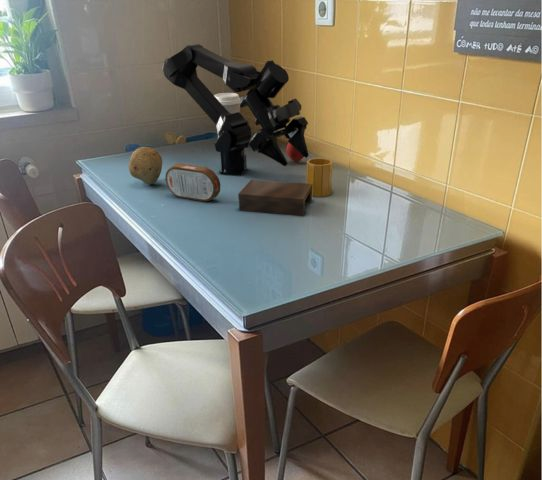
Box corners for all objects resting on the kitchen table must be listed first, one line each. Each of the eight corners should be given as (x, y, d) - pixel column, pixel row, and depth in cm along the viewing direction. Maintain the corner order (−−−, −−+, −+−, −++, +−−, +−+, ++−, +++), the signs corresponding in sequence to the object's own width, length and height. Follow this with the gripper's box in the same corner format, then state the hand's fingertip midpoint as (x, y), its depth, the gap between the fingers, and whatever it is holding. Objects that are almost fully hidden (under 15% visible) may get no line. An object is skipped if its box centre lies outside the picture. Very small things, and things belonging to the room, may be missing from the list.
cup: (309, 197, 139) (310, 166, 135) (304, 189, 145) (304, 158, 140) (333, 196, 140) (335, 164, 135) (327, 187, 145) (329, 157, 141)
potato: (134, 191, 145) (128, 153, 139) (129, 181, 152) (122, 144, 146) (168, 186, 148) (163, 149, 142) (161, 177, 154) (156, 141, 149)
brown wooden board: (239, 210, 132) (238, 193, 130) (251, 195, 141) (251, 179, 139) (303, 216, 129) (303, 198, 127) (311, 200, 138) (312, 183, 135)
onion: (305, 160, 166) (306, 132, 162) (305, 165, 161) (305, 137, 157) (287, 159, 167) (287, 132, 162) (285, 165, 162) (285, 137, 157)
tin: (222, 200, 138) (219, 167, 133) (216, 204, 136) (213, 171, 131) (172, 192, 144) (168, 160, 139) (165, 196, 141) (161, 164, 136)
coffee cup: (211, 146, 180) (208, 97, 171) (218, 139, 188) (215, 92, 179) (239, 147, 179) (237, 98, 170) (245, 140, 186) (243, 92, 178)
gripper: (257, 94, 129) (293, 150, 130) (303, 83, 141) (336, 134, 142) (234, 124, 138) (268, 176, 138) (279, 111, 149) (310, 159, 150)
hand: (297, 160), depth 142 cm, fingers open, 9 cm apart
